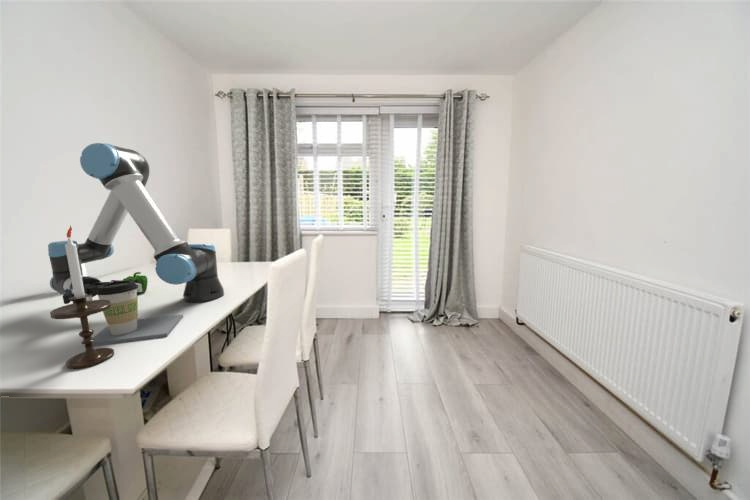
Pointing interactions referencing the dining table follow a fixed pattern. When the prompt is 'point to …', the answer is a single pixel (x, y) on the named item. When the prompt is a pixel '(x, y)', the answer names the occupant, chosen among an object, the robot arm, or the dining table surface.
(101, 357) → the candlestick
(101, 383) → the dining table surface
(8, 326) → the dining table surface
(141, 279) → the bell pepper
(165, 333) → the slate mat
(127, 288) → the coffee cup
